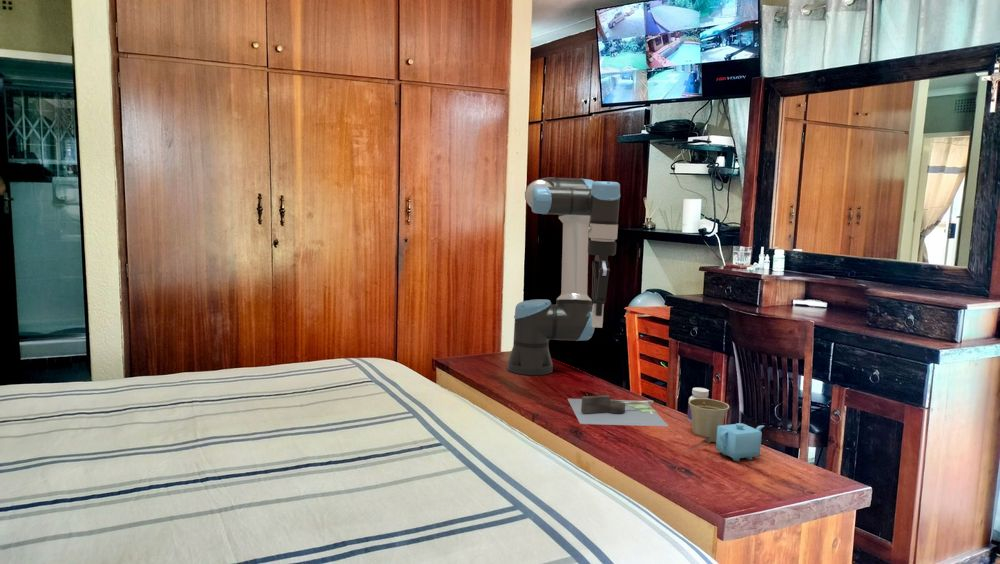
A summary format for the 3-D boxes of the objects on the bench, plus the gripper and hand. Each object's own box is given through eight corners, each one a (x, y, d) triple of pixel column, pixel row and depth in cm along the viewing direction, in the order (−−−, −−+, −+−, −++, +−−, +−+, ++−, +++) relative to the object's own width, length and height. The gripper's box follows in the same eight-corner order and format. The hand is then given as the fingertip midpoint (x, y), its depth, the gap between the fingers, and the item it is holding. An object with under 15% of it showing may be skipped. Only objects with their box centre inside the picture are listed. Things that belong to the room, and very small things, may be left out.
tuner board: (567, 403, 187) (567, 397, 187) (645, 406, 188) (646, 400, 188) (579, 429, 165) (580, 423, 165) (668, 432, 167) (669, 425, 166)
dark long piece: (648, 405, 183) (649, 390, 182) (658, 410, 178) (659, 396, 178) (578, 409, 176) (578, 394, 176) (586, 415, 171) (587, 400, 171)
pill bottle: (696, 431, 168) (699, 393, 167) (682, 424, 173) (684, 387, 172) (713, 429, 171) (716, 391, 170) (698, 422, 176) (701, 385, 175)
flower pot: (729, 447, 158) (731, 411, 157) (687, 443, 159) (689, 407, 158) (724, 434, 167) (726, 400, 166) (684, 430, 169) (687, 396, 168)
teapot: (752, 449, 157) (755, 417, 156) (771, 458, 152) (774, 425, 151) (709, 453, 153) (712, 421, 152) (727, 463, 147) (730, 430, 146)
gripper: (584, 237, 186) (579, 321, 189) (592, 241, 173) (586, 331, 177) (611, 238, 187) (606, 322, 190) (621, 242, 174) (615, 332, 177)
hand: (596, 326), depth 183 cm, fingers closed
